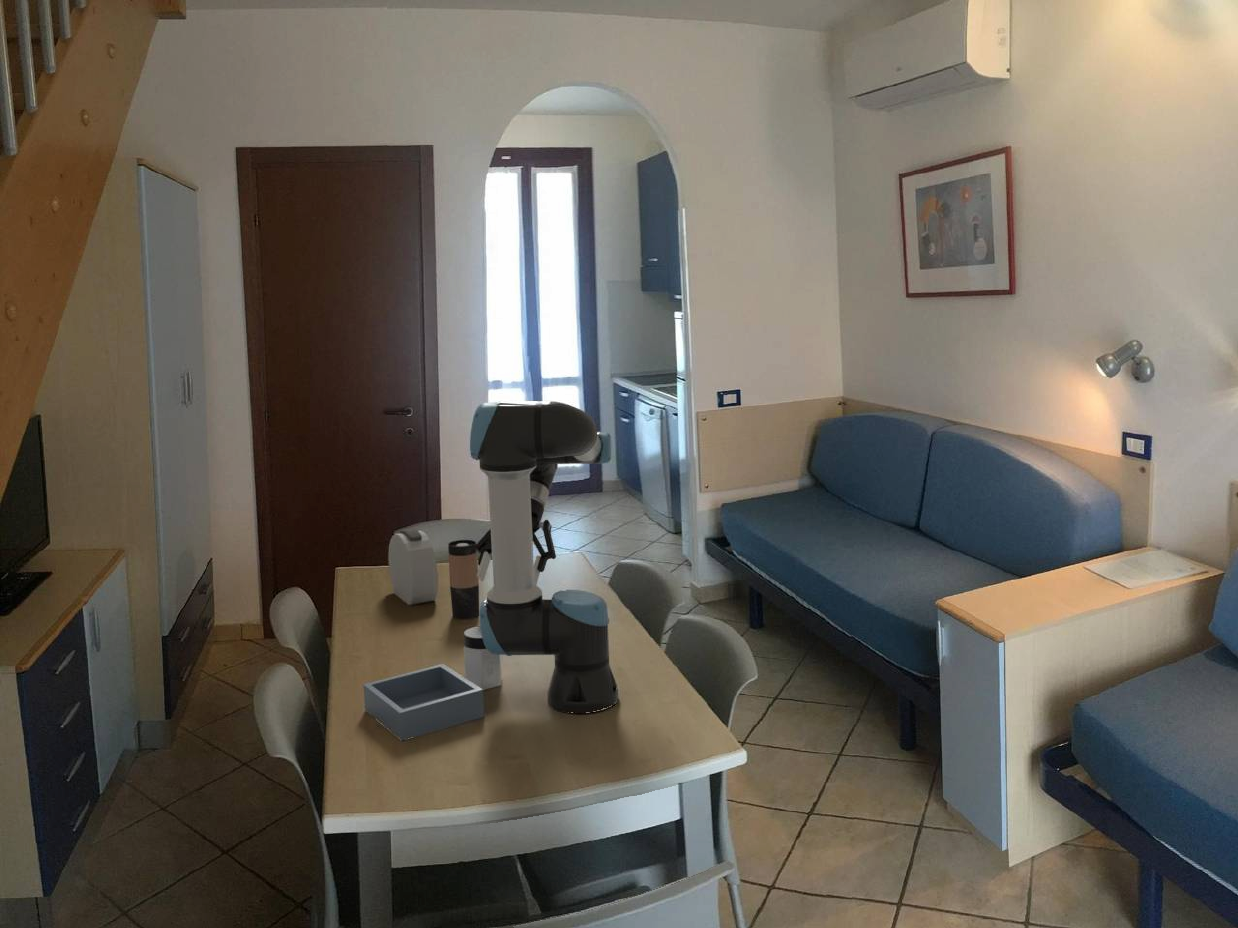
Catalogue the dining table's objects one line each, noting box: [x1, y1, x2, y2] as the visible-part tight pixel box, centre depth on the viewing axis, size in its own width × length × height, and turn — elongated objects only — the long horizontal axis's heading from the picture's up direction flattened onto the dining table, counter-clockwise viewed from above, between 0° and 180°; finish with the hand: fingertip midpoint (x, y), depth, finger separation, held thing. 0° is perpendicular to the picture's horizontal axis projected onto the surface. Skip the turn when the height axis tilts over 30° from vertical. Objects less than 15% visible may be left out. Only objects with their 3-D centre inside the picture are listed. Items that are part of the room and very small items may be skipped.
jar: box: [463, 625, 503, 691], centre depth 229 cm, size 9×8×12 cm
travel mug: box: [447, 539, 480, 620], centre depth 276 cm, size 8×8×20 cm
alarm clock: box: [387, 528, 439, 606], centre depth 292 cm, size 21×8×20 cm, turn 30°
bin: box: [363, 663, 485, 740], centre depth 214 cm, size 18×18×6 cm
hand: (506, 580), depth 240 cm, fingers open, 13 cm apart
